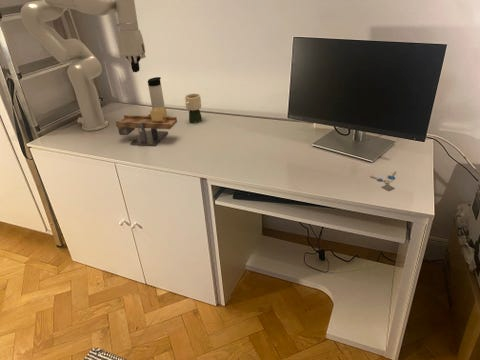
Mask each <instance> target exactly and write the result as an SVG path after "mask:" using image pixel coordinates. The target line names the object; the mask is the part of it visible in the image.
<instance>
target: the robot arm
mask: <svg viewBox="0 0 480 360" xmlns="http://www.w3.org/2000/svg"><path fill="white" fill-rule="evenodd" d="M135 3H136V2H135V0H34V1H29V2H27V3H25V4H24V5H22V6H21V10H20V18H21V21H22V24H23V25H24V27H25V29H26V30H27V32H29V33H30V34H31V36H34V38H35V39H36V40H38V41H39V42H40V43H41V45H42V46H43V47H44V48H45V49H46V50H47V51H48V52H49V54H50V55H51V56H53V58H54V59H55V60H57V62H58V63H60V64H64V65H65V64H69V63H70V65H69V66H67V67H68V68H67V71H66V72H67V76H68V78H69V81H70V82H71V85H72V87H73V89H74V93H75V96H76V100H77V103H78V106H79V107H78V108H79V111H80V114H81V117H78V118H77V123H79V124H82V125H81V129H82V130H83V131H85V132H92V131H98V130H99V131H100V130H102V129H104V128H107V127H108V125H109V121H108V120H106V119H105V118H104V113H103V111H102V106H101V102H100V98H99V95H98V92H97V91H98V90H97V87H96V86H95V85H94V83H93V82H92V80H94V79H95V78H97V77H99V76H100V75H101V74H102V71H103V69H102V68H103V67H102V64H101V62H100V61H99V60H98V58H97V57H96V56H95V55H94V54H93V53H92V52H91V50H90V49H89V48H88V47H87V46H86V45H85V43H83V42H82V41H80V40H79V39H77V38H68V39H64V37H62V36H61V35H60V34H59V33H58V32H57V30H55V28H53V27H51V26H50V25H48V24H46V23H47V22H50V21H55V20H57V19H59V18H60V17H61V16H62V15H63V14H64V13H65V12H66V10H67V9H71V10H76V11H78V12H80V13H83V14H86V15H93V16H99V17H100V16H106V15H107V16H108V15H112V14H116V15H117V21H118V23H116V27H117V28H119V30H118V33H117V37H118V38H117V40H118V41H117V42H118V49H119V54H120V56H121V57H122V58H124V59H127V61H129V62H128V63H130V67H131V70H132V73H138V72H140V63H139V62H140V61H141V59H145V58H146V57H147V56H146V55H145V53H146V48H145V43H144V38H143V35H142V33H141V29H139V24H138V16H137V11H136V4H135ZM45 22H46V23H45Z"/></svg>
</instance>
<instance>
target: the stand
mask: <svg viewBox="0 0 480 360" xmlns="http://www.w3.org/2000/svg"><path fill="white" fill-rule="evenodd" d="M147 116H151V113H150V114H148V115H147ZM137 125H138V128H137V129H138V133H139V134H138V135H137V136H136V137H135V138H134V139H133V140H132V141H131V142H130V143H129V145H130V146H139V147H157V146H158V145H159V144H160V142H161V143H162V141H163V140H164V139H165V137H167V135H169V131H167V130H166V131H164V130H163V131H162V130H158V129H150V130H146V128H145V127H144V123H138V124H137Z"/></svg>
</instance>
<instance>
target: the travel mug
mask: <svg viewBox="0 0 480 360" xmlns="http://www.w3.org/2000/svg"><path fill="white" fill-rule="evenodd" d="M147 86H148V92H149V98H150V102H151V108H152V109H153V108H155V107H165V100H164V94H163V89H162V83H161V76H155V77H151V78H149V79H148V80H147ZM165 108H166V107H165ZM152 109H151V110H152Z"/></svg>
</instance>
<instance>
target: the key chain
mask: <svg viewBox="0 0 480 360" xmlns="http://www.w3.org/2000/svg"><path fill="white" fill-rule="evenodd" d="M396 173H397V171H395V170H394V172H393V173H392V174H391V175H387V179H384V178H382V177H380V178H379V177H377V176H373V175H370V177H371V178H373V179H375V180H376V181H378V182H383V184H384V185H382V186H381V187H380V188H381V189H383V190H385V191H386V192H391V191H393V190H395V189H396V188H395V187H393V186H392V185H390V183H391V182H392V181H393V180H396V177H395V175H396ZM389 179H390V180H389Z"/></svg>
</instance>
